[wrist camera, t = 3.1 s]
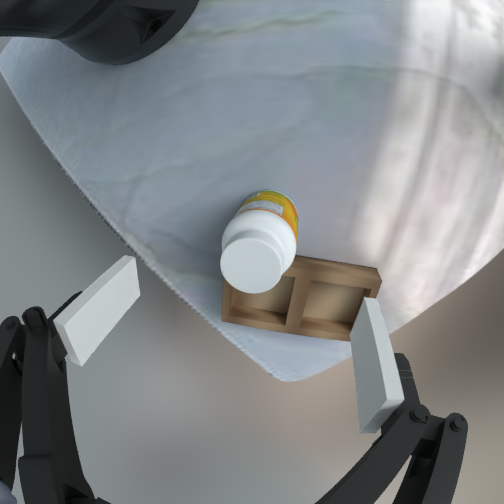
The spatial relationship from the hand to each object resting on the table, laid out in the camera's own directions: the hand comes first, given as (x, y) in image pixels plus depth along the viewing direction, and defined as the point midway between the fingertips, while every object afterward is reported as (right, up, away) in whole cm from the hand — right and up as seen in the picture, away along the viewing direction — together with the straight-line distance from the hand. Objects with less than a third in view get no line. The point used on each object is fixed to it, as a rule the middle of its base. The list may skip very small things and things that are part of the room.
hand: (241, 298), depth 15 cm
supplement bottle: (+2, +6, +11) cm, 13 cm away
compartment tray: (+5, -2, +14) cm, 15 cm away
